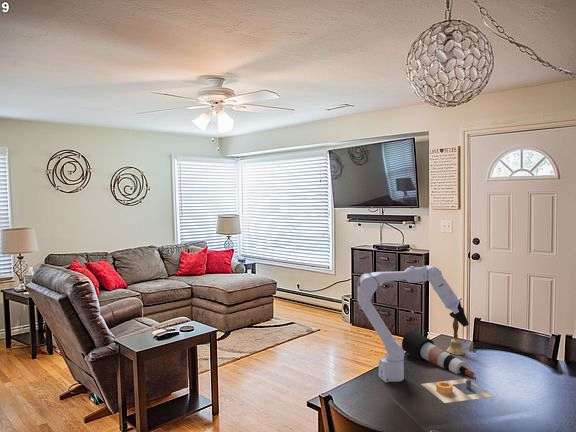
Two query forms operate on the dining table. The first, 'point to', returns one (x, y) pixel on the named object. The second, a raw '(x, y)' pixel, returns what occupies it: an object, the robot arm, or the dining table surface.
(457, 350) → the hand bell
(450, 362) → the cable
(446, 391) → the orange hexagonal nut
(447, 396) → the cream flat rectangular board
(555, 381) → the dining table surface
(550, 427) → the dining table surface
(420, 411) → the dining table surface
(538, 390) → the dining table surface
